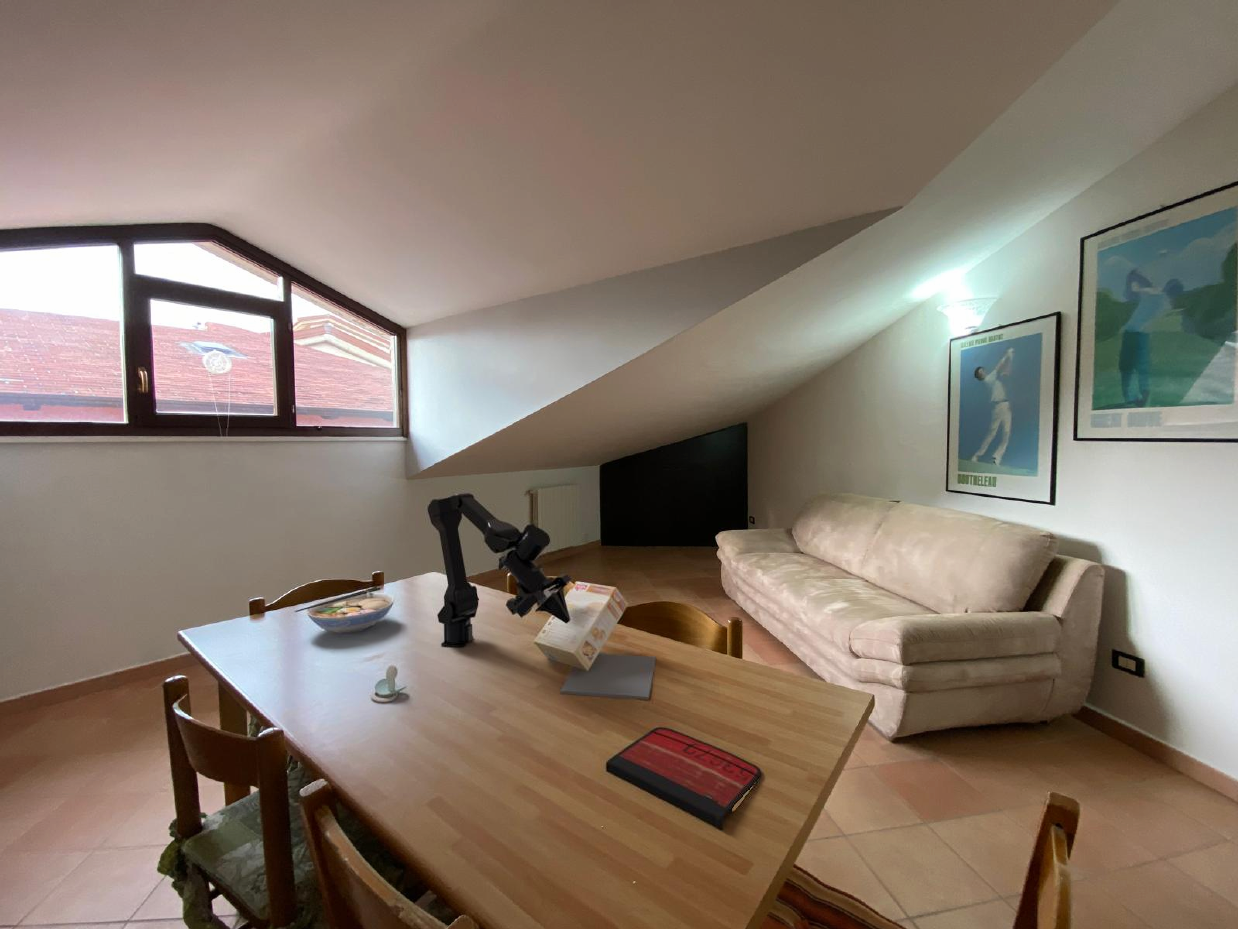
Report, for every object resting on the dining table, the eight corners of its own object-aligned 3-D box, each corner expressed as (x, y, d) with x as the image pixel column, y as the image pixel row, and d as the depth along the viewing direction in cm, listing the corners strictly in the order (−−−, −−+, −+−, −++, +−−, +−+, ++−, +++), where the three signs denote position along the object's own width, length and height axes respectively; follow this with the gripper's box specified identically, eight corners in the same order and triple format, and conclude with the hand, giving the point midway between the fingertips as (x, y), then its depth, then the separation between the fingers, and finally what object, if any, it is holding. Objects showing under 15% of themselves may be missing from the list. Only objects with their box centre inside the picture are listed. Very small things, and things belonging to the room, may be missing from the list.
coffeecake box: (588, 672, 116) (629, 604, 128) (573, 653, 113) (616, 586, 125) (547, 658, 127) (588, 597, 138) (532, 641, 123) (575, 579, 135)
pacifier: (384, 708, 103) (410, 694, 108) (382, 678, 103) (408, 666, 108) (364, 698, 107) (390, 686, 112) (362, 670, 107) (388, 658, 112)
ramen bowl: (330, 652, 130) (329, 621, 130) (286, 635, 142) (285, 606, 142) (415, 623, 151) (414, 596, 151) (370, 610, 163) (369, 585, 163)
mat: (560, 693, 108) (560, 690, 108) (581, 654, 128) (581, 652, 128) (648, 699, 106) (648, 697, 106) (655, 659, 125) (655, 657, 125)
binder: (721, 818, 70) (604, 760, 83) (721, 834, 70) (604, 774, 83) (765, 764, 83) (658, 721, 95) (765, 778, 83) (658, 734, 95)
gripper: (524, 582, 131) (563, 629, 128) (483, 604, 113) (527, 659, 110) (551, 554, 128) (592, 601, 125) (513, 572, 111) (559, 627, 107)
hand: (568, 621), depth 117 cm, fingers closed
